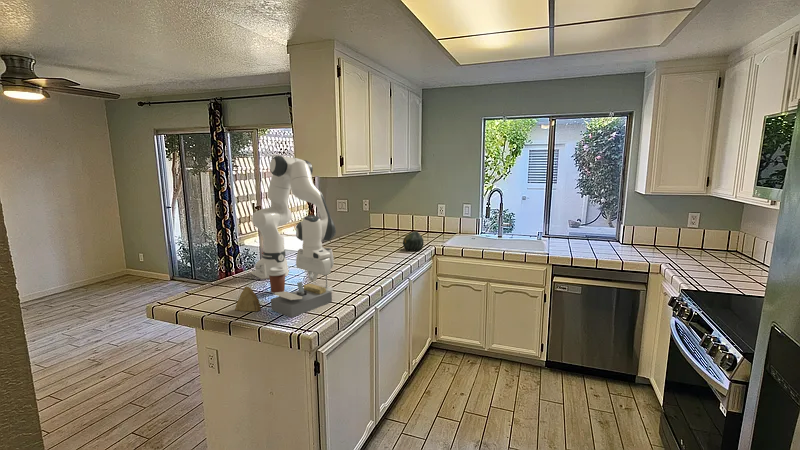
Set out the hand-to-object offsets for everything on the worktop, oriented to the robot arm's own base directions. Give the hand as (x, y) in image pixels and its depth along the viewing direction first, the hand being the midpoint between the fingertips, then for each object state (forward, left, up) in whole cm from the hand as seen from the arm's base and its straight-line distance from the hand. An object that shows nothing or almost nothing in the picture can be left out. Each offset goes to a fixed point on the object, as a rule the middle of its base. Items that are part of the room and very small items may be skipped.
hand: (313, 280), depth 181 cm
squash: (-23, +117, -10) cm, 119 cm away
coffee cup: (-24, -2, -10) cm, 27 cm away
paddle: (+1, -7, -4) cm, 8 cm away
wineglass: (-7, +15, -10) cm, 20 cm away
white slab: (+1, -15, -4) cm, 15 cm away
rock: (-15, -24, -10) cm, 30 cm away
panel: (+1, -7, -10) cm, 12 cm away
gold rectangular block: (+1, 0, -5) cm, 5 cm away
